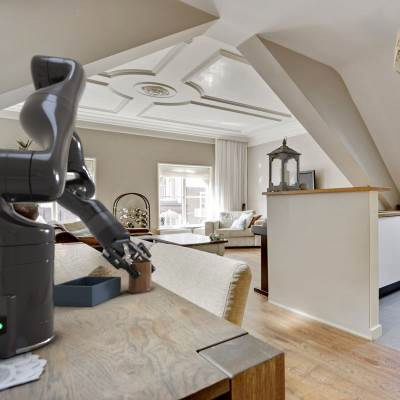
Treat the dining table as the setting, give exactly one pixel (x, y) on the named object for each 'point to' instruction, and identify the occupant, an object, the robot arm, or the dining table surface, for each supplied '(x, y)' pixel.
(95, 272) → the seashell
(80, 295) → the bin
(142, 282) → the brown cup
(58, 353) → the dining table surface
